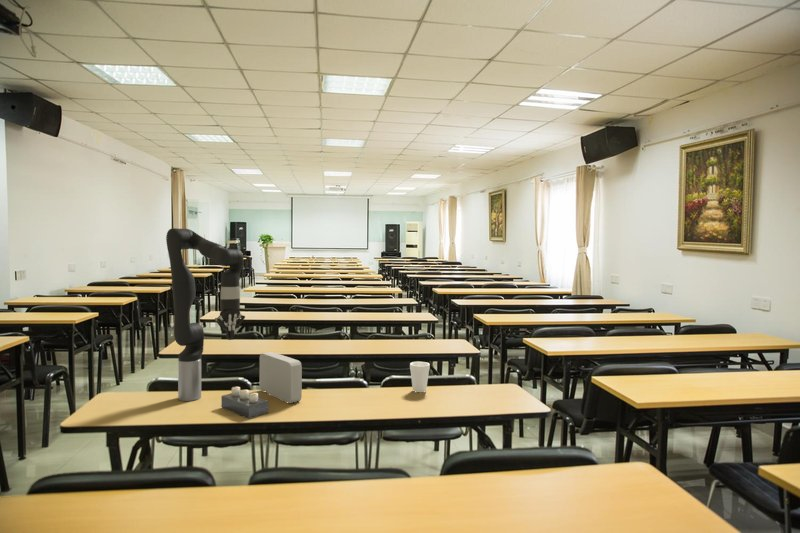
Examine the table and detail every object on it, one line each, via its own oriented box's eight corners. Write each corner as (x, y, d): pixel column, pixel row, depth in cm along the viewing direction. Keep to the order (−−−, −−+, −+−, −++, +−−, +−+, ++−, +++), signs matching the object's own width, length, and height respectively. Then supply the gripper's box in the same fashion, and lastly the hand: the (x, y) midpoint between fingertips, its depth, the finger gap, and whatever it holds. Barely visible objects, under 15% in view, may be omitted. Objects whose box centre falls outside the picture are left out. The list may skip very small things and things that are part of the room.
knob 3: (247, 412, 186) (247, 393, 186) (254, 410, 189) (254, 391, 189) (252, 414, 184) (252, 395, 184) (259, 412, 187) (259, 393, 186)
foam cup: (410, 387, 226) (411, 361, 225) (429, 388, 225) (430, 361, 224) (409, 393, 216) (409, 365, 216) (428, 394, 215) (429, 366, 215)
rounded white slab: (306, 401, 203) (306, 360, 203) (290, 405, 198) (291, 363, 197) (274, 387, 224) (274, 350, 223) (259, 390, 218) (259, 352, 218)
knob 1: (229, 405, 194) (230, 387, 194) (237, 403, 197) (237, 385, 197) (234, 407, 192) (234, 389, 192) (241, 405, 195) (241, 387, 195)
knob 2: (238, 409, 190) (238, 390, 190) (245, 407, 193) (245, 388, 193) (243, 410, 188) (243, 392, 188) (250, 408, 191) (250, 390, 190)
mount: (221, 407, 193) (221, 395, 193) (240, 402, 200) (240, 390, 200) (248, 418, 181) (248, 406, 181) (268, 412, 188) (268, 400, 188)
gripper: (239, 295, 198) (239, 336, 199) (210, 297, 188) (210, 340, 188) (249, 297, 193) (249, 338, 194) (220, 299, 183) (220, 342, 184)
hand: (230, 339), depth 191 cm, fingers closed
